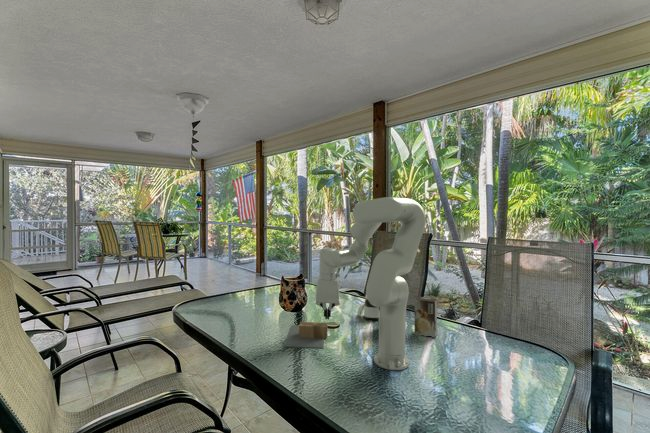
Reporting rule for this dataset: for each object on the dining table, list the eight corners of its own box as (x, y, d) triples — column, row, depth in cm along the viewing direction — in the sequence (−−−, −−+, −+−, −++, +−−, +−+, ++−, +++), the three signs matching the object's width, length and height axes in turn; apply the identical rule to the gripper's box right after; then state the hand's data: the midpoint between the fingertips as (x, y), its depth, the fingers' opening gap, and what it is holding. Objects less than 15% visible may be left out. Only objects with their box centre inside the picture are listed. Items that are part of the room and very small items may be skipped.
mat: (323, 348, 128) (323, 347, 128) (283, 347, 128) (283, 346, 128) (325, 327, 152) (325, 326, 152) (292, 326, 152) (292, 325, 152)
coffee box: (437, 333, 145) (437, 298, 145) (435, 338, 140) (435, 301, 139) (416, 330, 149) (417, 295, 149) (413, 334, 144) (414, 299, 144)
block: (326, 326, 137) (299, 325, 137) (326, 338, 137) (298, 337, 138) (327, 322, 142) (300, 321, 142) (327, 333, 142) (300, 333, 143)
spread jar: (380, 321, 160) (381, 298, 160) (358, 321, 161) (358, 298, 161) (377, 314, 172) (377, 292, 172) (356, 313, 173) (356, 292, 173)
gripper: (344, 275, 143) (344, 316, 143) (311, 274, 143) (310, 315, 144) (345, 278, 135) (344, 321, 135) (310, 277, 136) (309, 320, 136)
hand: (327, 318), depth 139 cm, fingers closed
